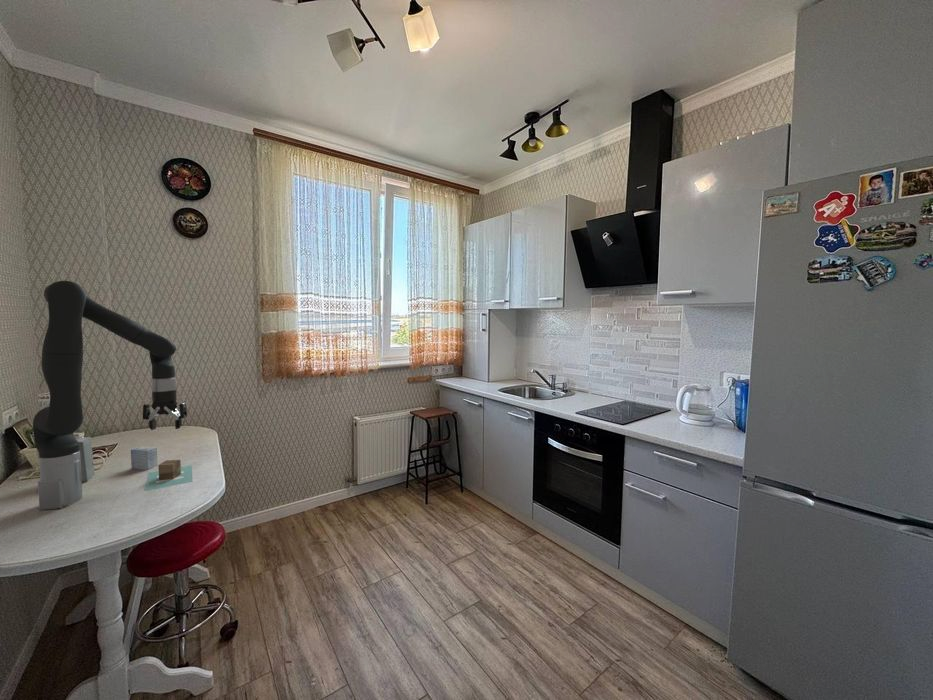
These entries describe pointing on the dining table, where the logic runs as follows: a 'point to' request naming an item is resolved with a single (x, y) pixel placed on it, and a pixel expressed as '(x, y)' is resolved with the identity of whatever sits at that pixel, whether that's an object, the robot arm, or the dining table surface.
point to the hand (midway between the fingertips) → (165, 428)
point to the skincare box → (86, 458)
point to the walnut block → (169, 469)
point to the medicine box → (144, 458)
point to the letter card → (155, 483)
